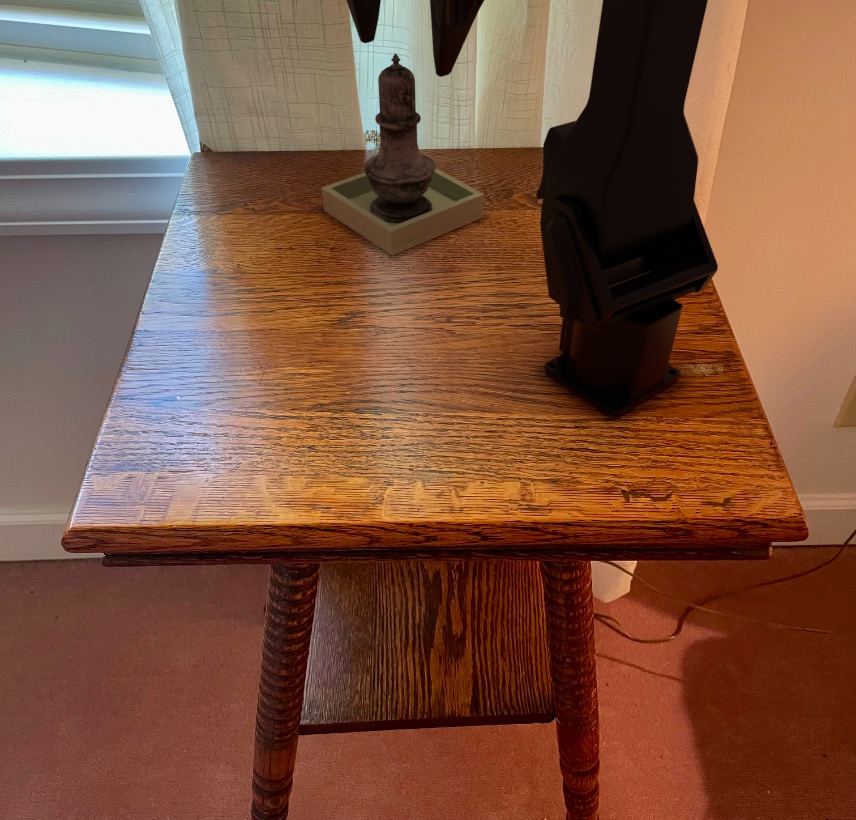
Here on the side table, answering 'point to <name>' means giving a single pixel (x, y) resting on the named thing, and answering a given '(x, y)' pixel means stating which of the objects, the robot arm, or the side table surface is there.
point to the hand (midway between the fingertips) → (403, 57)
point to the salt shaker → (398, 151)
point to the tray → (448, 213)
